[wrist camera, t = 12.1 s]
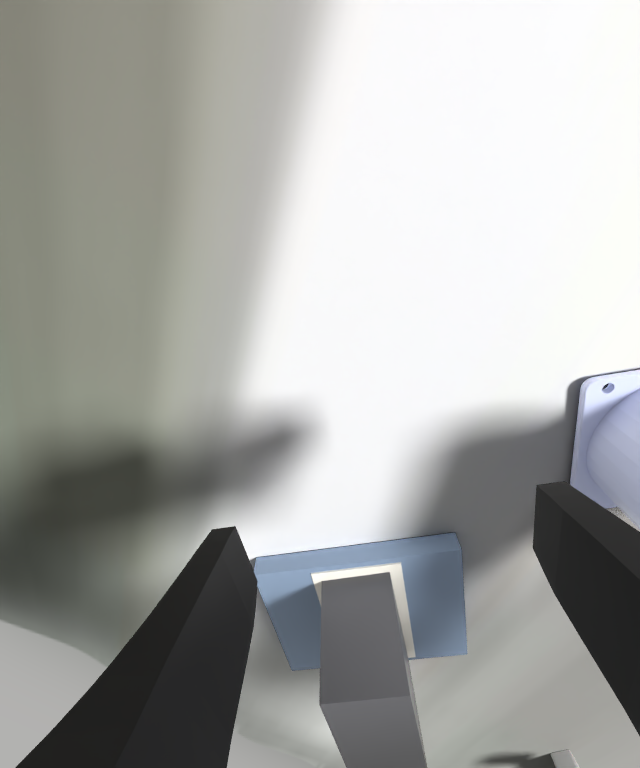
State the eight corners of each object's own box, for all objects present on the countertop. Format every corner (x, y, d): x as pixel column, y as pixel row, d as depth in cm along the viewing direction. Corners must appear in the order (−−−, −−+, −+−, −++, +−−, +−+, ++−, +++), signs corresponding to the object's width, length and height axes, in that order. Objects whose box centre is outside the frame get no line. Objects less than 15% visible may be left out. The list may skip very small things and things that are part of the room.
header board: (455, 532, 22) (482, 603, 18) (461, 635, 26) (484, 711, 22) (256, 557, 23) (242, 629, 19) (293, 652, 27) (287, 726, 24)
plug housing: (389, 571, 22) (410, 696, 16) (406, 652, 25) (429, 777, 20) (321, 581, 22) (319, 704, 17) (347, 659, 25) (353, 782, 20)
